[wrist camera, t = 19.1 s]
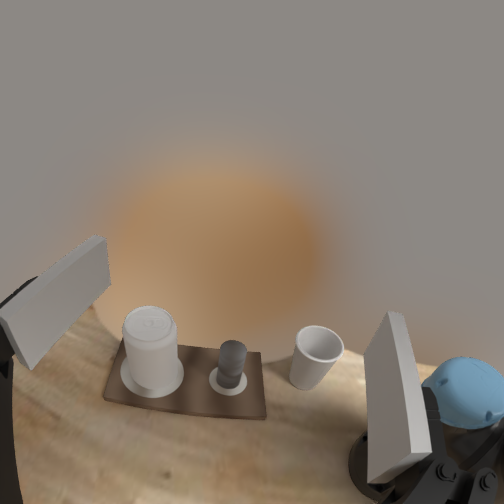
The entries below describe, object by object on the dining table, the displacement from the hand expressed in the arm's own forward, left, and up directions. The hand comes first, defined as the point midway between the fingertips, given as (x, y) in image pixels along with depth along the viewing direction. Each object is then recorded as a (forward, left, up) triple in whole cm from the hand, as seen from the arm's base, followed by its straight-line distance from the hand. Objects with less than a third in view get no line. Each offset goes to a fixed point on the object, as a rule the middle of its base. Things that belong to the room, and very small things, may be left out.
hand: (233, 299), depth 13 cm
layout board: (+4, -20, -35) cm, 40 cm away
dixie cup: (-17, -22, -35) cm, 45 cm away
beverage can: (+9, -20, -34) cm, 40 cm away
